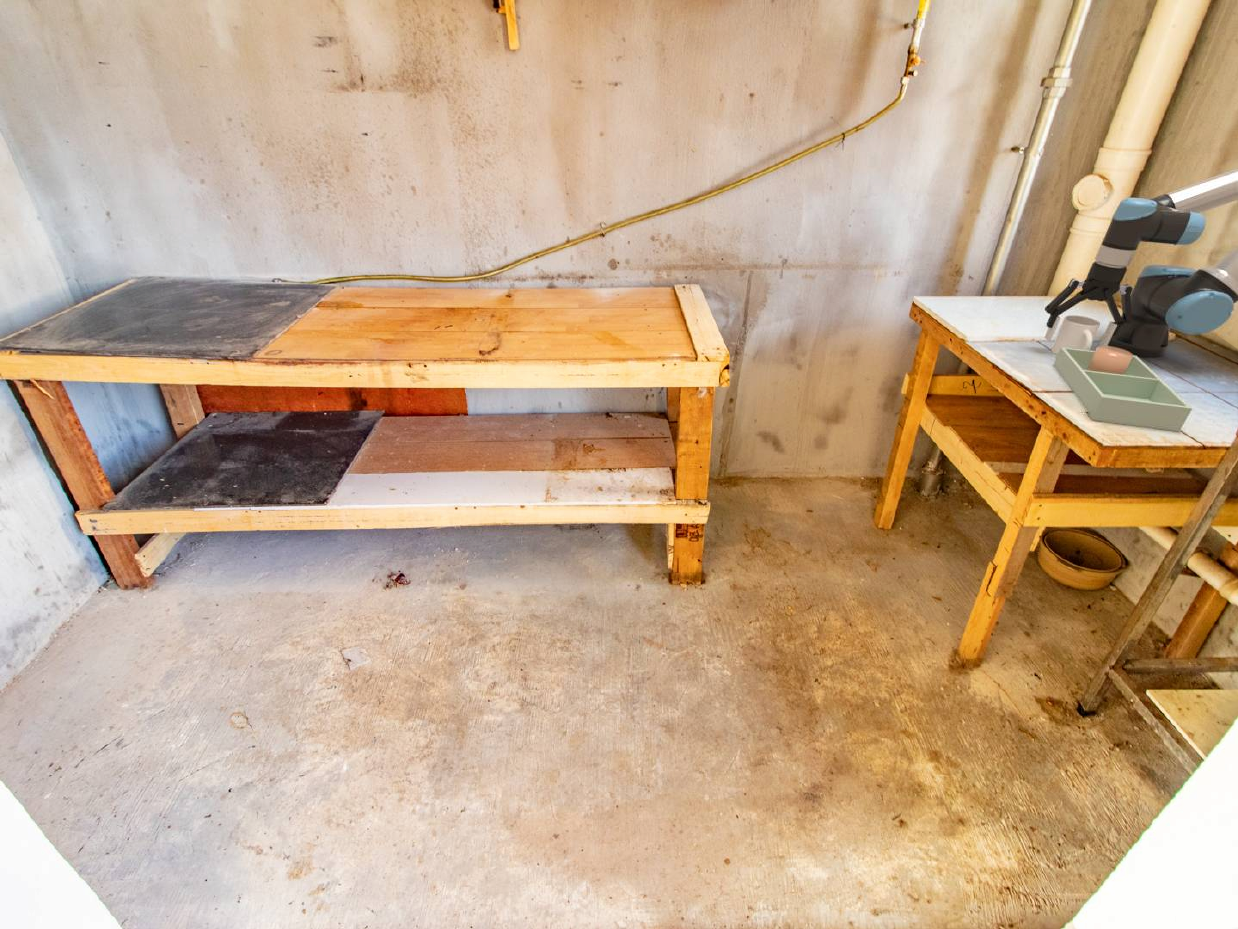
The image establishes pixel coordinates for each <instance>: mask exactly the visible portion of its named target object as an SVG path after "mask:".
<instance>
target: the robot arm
mask: <svg viewBox="0 0 1238 929" xmlns="http://www.w3.org/2000/svg"><path fill="white" fill-rule="evenodd" d="M1235 201H1238V168H1234V169H1232V170H1228V171H1226V172H1223V173H1220V174H1218V175H1214V176H1212V177H1209V178H1206V179H1204V180H1201V181H1199V182H1195V183H1193V184H1190V185H1189V184H1188V185H1187V186H1184V187H1182V188H1178V189H1175V190H1173V191H1169V192H1167V193H1163V194H1162V195H1159V196H1156V197H1155V196H1154V197H1152V198H1150V199H1149V198H1145V197H1144V198H1140V197H1139V198H1138V197H1126V198H1124V199H1122V200H1121V201H1120V203H1119V204H1118V206H1117V208H1116V209H1115V212H1114V214H1113V215H1112V217H1111V218H1112V219H1111V221H1110V223H1109V225H1108V228H1107V229H1106V230H1107V231H1106V233H1105V235H1104V237H1103V240H1102V242H1101V244H1100V246H1099V248H1098V251H1097V253H1096V256H1095V258H1094V260H1095V261H1094V262H1092V264H1091V266H1090V268H1089V271H1088V273H1087V275H1086V279H1084V280H1078V279H1076V278H1072V279H1070V280H1069V283H1068V285H1067V286H1066V287H1065V288H1064V289H1063V290H1062V291H1061V292H1060V293H1059V294H1058V295H1057V296H1055V298H1053V300H1051V302H1049V304H1047V305H1046V306H1045V307H1044V311H1045V312H1046V313H1047V314H1049V318H1048V320H1047V323H1046V327H1047V328H1048V329H1047V331H1046V334H1045V335H1044V338H1045V340H1047V341H1048V342H1052V338H1053V336H1054V335H1055V332H1056V330H1057V328H1058V324H1059V322H1060V320H1061V316H1060V315H1062V314H1063V313H1065V312H1067V311H1068V310H1071V308H1074V307H1075V306H1076V305H1078V304H1079V303H1080V302H1083V301H1084V302H1085V301H1086V300H1087V299H1088V300H1089V301H1098V302H1104V301H1105V302H1106V305H1107V308H1108V309H1109V311H1110V313H1111V317H1112V318H1113V320H1114V321H1109V323H1108V325H1107V328H1106V329H1105V332H1104V334H1103V336H1102V338H1101V340H1100V342H1099V346H1111V347H1116V348H1120V349H1123V350H1126V351H1128V352H1130V353H1131V354H1132V355H1133V356H1141V357H1151V358H1154V357H1155V358H1156V357H1162V356H1164V355H1165V353H1166V352H1167V349H1168V347H1169V341H1170V330H1171V329H1172V330H1175V331H1177V332H1179V333H1183V334H1185V335H1190V336H1191V335H1192V336H1195V335H1203V334H1207V333H1210V332H1212V331H1214V330H1217V329H1218V328H1220V327H1222V326H1223V325H1224V324H1225V323H1227V322H1228V321H1229V319H1230V318H1231V317H1232V312H1233V311H1234V310H1235V303H1237V302H1238V246H1236V247H1235V248H1234V249H1233V250H1232V251H1230V252H1229V253H1227V254H1226V255H1225V256H1224V257H1222V258H1221V259H1220V260H1218V262H1216V263H1214V265H1212V266H1210V267H1202V268H1201V267H1200V268H1199V269H1198V270H1196V269H1195V268H1191V267H1183V266H1178V265H1177V266H1175V265H1166V264H1149V265H1147V266H1145V267H1143V269H1142V271H1141V272H1140V274H1139V276H1138V277H1137V281H1136V282H1135V285H1134V286H1133V287H1132V286H1130V285H1129V284H1127V283H1126V284H1124V285H1121V283H1122V281H1123V279H1124V277H1125V274H1126V273H1127V271H1128V268H1127V266H1130V264H1131V262H1132V260H1133V258H1134V256H1135V254H1136V251H1137V249H1138V247H1139V245H1140V243H1141V242H1143V243H1154V244H1155V243H1156V244H1165V245H1168V244H1169V245H1174V246H1179V245H1180V246H1181V245H1182V246H1187V245H1191V244H1194V243H1196V242H1197V241H1198V239H1199V238H1201V236H1202V234H1203V232H1204V231H1205V228H1206V223H1207V222H1206V217H1205V215H1204V214H1203V213H1204V212H1206V211H1209V210H1212V209H1215V208H1217V207H1221V206H1223V205H1224V206H1225V205H1227V204H1230V203H1233V202H1235ZM1080 287H1081V289H1082V290H1080V291H1079V292H1077V293H1076V294H1075V295H1073V296H1072V297H1070V296H1071V295H1072V294H1073V293H1074V292H1075V291H1076V290H1077V289H1079V288H1080ZM1118 292H1119V294H1120V298H1121V309H1122V313H1121V314H1120V311H1119V308H1118V306H1117V304H1116V301H1115V298H1114V295H1115V294H1116V293H1118ZM1069 297H1070V298H1069ZM1068 298H1069V299H1068Z"/></svg>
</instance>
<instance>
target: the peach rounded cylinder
mask: <svg viewBox="0 0 1238 929" xmlns="http://www.w3.org/2000/svg"><path fill="white" fill-rule="evenodd" d="M1094 351H1095V353H1094V355H1093V357H1092V359H1091V362H1090V364H1089V366H1088V368H1087V370H1088V371H1096V372H1104V373H1112V374H1121V375H1124V373H1125V371H1126V369H1127V367H1128V365H1129V363H1130V361H1131V359H1132V357H1133V356H1134V354H1131V353H1130V352H1128V351H1126V350H1123V349H1120V348H1116V347H1111V346H1100V345H1099V346H1097V347H1096V349H1095V350H1094Z"/></svg>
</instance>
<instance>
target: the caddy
mask: <svg viewBox="0 0 1238 929" xmlns="http://www.w3.org/2000/svg"><path fill="white" fill-rule="evenodd" d="M1095 351H1096V350H1081V349H1072V348H1063V347H1061V348H1060V350H1059V353H1058V355H1056V357H1055V360H1054V361H1053V362H1054V363H1053V367H1054V368H1055V370H1056V371H1057V372H1058V373H1059V375H1060V376H1061V377H1062V379H1063V380H1064V381H1065V382H1066V384H1067V385H1068V387H1069V388H1070V389H1071V391H1072V392H1073V393H1074V395H1075V396H1076V397H1077V399H1078V400H1079V401H1080V403H1081V404H1082V405H1083V406H1084V408H1085V409H1086V410H1087V411H1084V412H1085V413H1086V415H1087V417H1090V418H1089V419H1090V420H1091V421H1097V422H1105V423H1113V424H1118V425H1125V424H1126V426H1134V427H1142V428H1148V429H1155V430H1157V429H1158V430H1165V431H1171V432H1180V431H1181V430H1182V427H1183V426H1184V424H1185V422H1186V421H1187V419H1188V418H1189V415H1190V413H1191V412H1192V410H1193V408H1192V407H1191V405H1189V403H1187V402H1186V401H1185V400H1184V399H1183V398H1182V397H1181V395H1178V393H1176V391H1175V390H1173V388H1171V387H1170V386H1169V385H1168V384H1167V383H1166V382H1165V381H1164V380H1163V379H1161V378H1160V377H1159V375H1158V374H1156V372H1154V371H1153V370H1152V369H1151V368H1150V367H1149V366H1148V365H1147V364H1146V363H1145V362H1144V361H1143V360H1142V359H1141V358H1139V357H1138V355H1133V357H1132V359H1131V361H1130V363H1129V365H1128V367H1127V369H1126V371H1125V373H1124V375H1121V374H1112V373H1104V372H1096V371H1088V370H1087V368H1088V366H1089V364H1090V362H1091V359H1092V357H1093V355H1094V353H1095Z"/></svg>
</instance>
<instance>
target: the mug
mask: <svg viewBox="0 0 1238 929" xmlns="http://www.w3.org/2000/svg"><path fill="white" fill-rule="evenodd" d="M1100 325H1101V322H1100V321H1099V320H1097V319H1094V318H1091V317H1088V316H1083V315H1077V314H1076V315H1074V314H1070V315H1065V316H1064V317H1063V320H1062V323H1061V325H1060V327H1059V329H1058V332H1057V333H1056V334H1057V335H1056V337H1055V339H1054V342H1053V344H1052V347H1051V350H1050V351H1051V352H1052V353H1053V354H1054V355H1056V356H1057V355H1058V353H1059V350H1060V348H1061V347H1063V348H1072V349H1081V350H1089V351H1091V347H1092V345H1093V341H1094V339H1095V336H1096V334H1097V333H1098V330H1099V328H1100Z"/></svg>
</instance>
